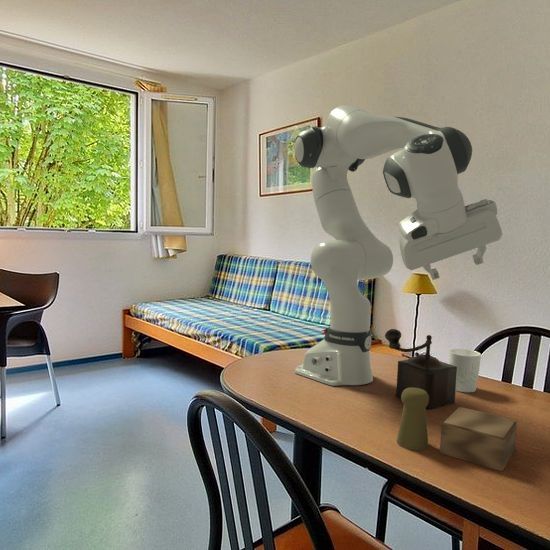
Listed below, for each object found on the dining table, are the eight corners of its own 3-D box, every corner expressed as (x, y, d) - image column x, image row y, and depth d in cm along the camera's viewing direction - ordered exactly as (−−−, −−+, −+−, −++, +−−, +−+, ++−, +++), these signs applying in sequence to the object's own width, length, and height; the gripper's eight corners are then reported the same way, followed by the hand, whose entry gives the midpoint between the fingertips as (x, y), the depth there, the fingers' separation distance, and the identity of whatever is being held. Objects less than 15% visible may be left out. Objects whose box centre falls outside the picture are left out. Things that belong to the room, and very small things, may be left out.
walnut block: (439, 452, 90) (441, 422, 90) (456, 433, 99) (458, 405, 98) (502, 471, 84) (504, 438, 83) (514, 449, 92) (517, 419, 92)
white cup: (459, 382, 134) (461, 347, 133) (484, 390, 127) (487, 354, 126) (441, 386, 130) (443, 350, 129) (466, 395, 123) (469, 357, 122)
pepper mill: (420, 389, 126) (424, 323, 125) (456, 403, 117) (460, 331, 115) (378, 399, 118) (381, 328, 117) (412, 414, 109) (416, 337, 107)
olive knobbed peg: (433, 450, 91) (437, 394, 90) (402, 450, 91) (406, 394, 90) (421, 436, 97) (424, 384, 96) (392, 436, 97) (395, 384, 96)
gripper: (488, 190, 97) (499, 247, 103) (391, 226, 101) (407, 278, 107) (501, 201, 91) (512, 260, 98) (397, 238, 95) (415, 293, 101)
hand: (457, 270), depth 102 cm, fingers open, 8 cm apart
